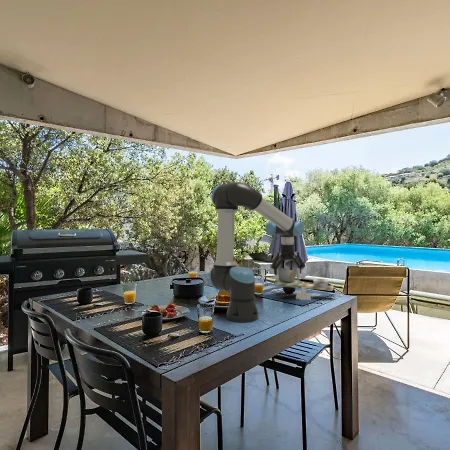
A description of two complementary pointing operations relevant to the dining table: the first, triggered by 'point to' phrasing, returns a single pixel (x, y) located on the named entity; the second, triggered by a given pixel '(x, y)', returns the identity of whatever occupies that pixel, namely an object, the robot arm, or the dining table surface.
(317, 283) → the balance beam
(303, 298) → the stand
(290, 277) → the ceramic mug
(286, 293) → the dining table surface
